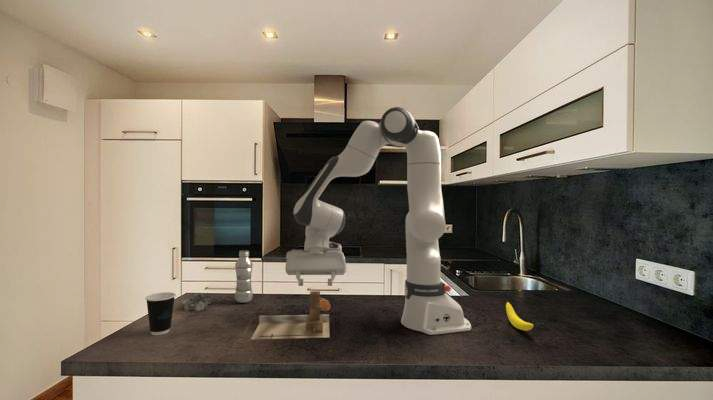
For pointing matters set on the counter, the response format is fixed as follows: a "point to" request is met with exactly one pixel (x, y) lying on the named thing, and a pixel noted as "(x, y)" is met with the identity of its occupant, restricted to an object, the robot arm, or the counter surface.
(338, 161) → the robot arm
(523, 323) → the banana
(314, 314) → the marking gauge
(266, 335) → the birch board
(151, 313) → the dixie cup
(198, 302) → the egg carton
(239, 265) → the plastic bottle
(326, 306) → the pastry
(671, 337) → the counter surface
